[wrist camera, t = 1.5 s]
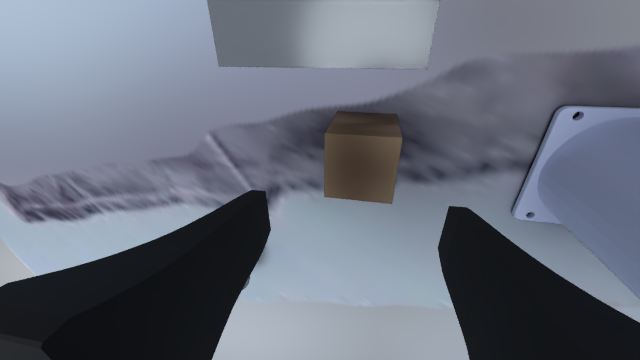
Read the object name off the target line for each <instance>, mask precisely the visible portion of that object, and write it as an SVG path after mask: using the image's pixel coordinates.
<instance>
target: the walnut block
mask: <svg viewBox="0 0 640 360" xmlns="http://www.w3.org/2000/svg"><path fill="white" fill-rule="evenodd" d="M401 145H402V134H401V130H400V126H399V122H398V118H397V114H383V113H361V112H337V113H336V115H335V117H334V118H333V120H332V122H331V124H330V125H329V127H328V129H327V130H326V132H325V183H324V197H331V198H341V199H350V200H360V201H369V202H379V203H388V204H392V201H393V195H394V189H395V182H396V176H397V170H398V164H399V157H400V151H401Z"/></svg>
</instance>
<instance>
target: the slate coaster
mask: <svg viewBox="0 0 640 360" xmlns="http://www.w3.org/2000/svg"><path fill="white" fill-rule="evenodd" d="M207 2H208V8H209V13H210V19H211V25H212V30H213V36H214V42H215V47H216V53H217V59H218V64H219V66H221V67H222V66H223V67H224V66H225V67H290V68H291V67H292V68H361V69H362V68H363V69H364V68H365V69H427V68H428V62H429V57H430V51H431V45H432V40H433V35H434V29H435V24H436V19H437V13H438V7H439V2H440V0H207Z"/></svg>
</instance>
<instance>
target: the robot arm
mask: <svg viewBox="0 0 640 360" xmlns="http://www.w3.org/2000/svg"><path fill="white" fill-rule="evenodd" d="M576 112H579V115H578V116H577V117H576V118H574V119H573V115H574V114H575V113H576ZM529 212H532V213H531V214H529V215H526V214H527V213H529ZM512 214H513V216H514V217H515V218H516V219H519V220H528V221H538V222H547V223H556V224H563V225H564V226H565V227H566V228H567V229H568V230H569V231H570V232H571V233H573V234H574V235H575V236H576V237H577V238H578V239H579V240H580V241H581V242H582V243H583V244H584V245H585V246H586V247H587V248H588V249H589V250H590V251H591V252H592V253H593V254H594V255H595V256H596V257H597V258H598V259H599V260H600V261H601V262H602V263H603V264H604V265H605V266H606V267H607V268H608V269H609V270H610V271H611V272H612V273H613V274H614V275H615V276H616V277H617V278H618V279H619V280H620V281H621V282H622V283H623V284H624V285H625V286H626V287H627V288H628V289H630V290H631V291H632V292H633V293H634V294H635V295H636V296H637V297H638V298H639V299H640V108H625V107H596V106H563V107H561V108H559V109H558V110H557V111H556V113H555V114H554V117H553V119H552V121H551V123H550V126H549V128H548V130H547V133H546V135H545V137H544V139H543V142H542V144H541V146H540V149H539V151H538V153H537V155H536V158H535V160H534V162H533V165H532V167H531V169H530V171H529V174H528V176H527V178H526V181H525V183H524V185H523V187H522V190H521V192H520V194H519V197H518V199H517V201H516V203H515V206H514V208H513V210H512ZM270 231H271V228H270V220H269V213H268V206H267V199H266V192H265V191H257V190H251V191H249V192H247V193H245V194H243V195H241V196H239V197H237V198H235V199H234V200H232V201H230V202H228V203H227V204H225V205H223V206H221V207H220V208H218V209H216V210H214V211H213V212H211V213H209V214H207V215H205V216H203V217H201V218H199V219H198V220H196V221H194V222H192V223H190V224H188V225H186V226H184V227H182V228H180V229H178V230H175V231H173V232H171V233H169V234H167V235H164V236H162V237H160V238H157V239H155V240H152V241H150V242H147V243H145V244H142V245H139V246H136V247H134V248H131V249H128V250H125V251H123V252H120V253H117V254H114V255H111V256H108V257H105V258H102V259H98V260H95V261H92V262H88V263H85V264H82V265H78V266H75V267H71V268H67V269H64V270H60V271H56V272H52V273H48V274H44V275H40V276H36V277H32V278H27V279H23V280H19V281H15V282H11V283H7V284H5V285H3V286H1V287H0V360H212V358H213V355H214V352H215V350H216V347H217V345H218V342H219V339H220V337H221V334H222V332H223V330H224V327H225V325H226V323H227V320H228V318H229V315H230V313H231V310H232V308H233V306H234V304H235V302H236V300H237V298H238V296H239V294H240V293H241V291H242V289H243V287H244V285H245V283H246V282H247V280H248V278H249V276H250V274H251V272H252V271H253V269H254V267H255V265H256V263H257V261H258V259H259V257H260V256H261V254H262V252H263V250H264V247H265V244H266V242H267V239H268V236H269V233H270ZM438 251H439V257H440V263H441V267H442V272H443V276H444V279H445V282H446V285H447V288H448V291H449V294H450V297H451V300H452V303H453V306H454V309H455V312H456V315H457V318H458V321H459V324H460V326H461V330H462V333H463V336H464V339H465V343H466V346H467V350H468V355H469V359H470V360H640V323H639V322H637V321H635V320H634V319H632V318H630V317H628V316H626V315H625V314H623V313H621V312H619V311H617V310H615V309H614V308H612V307H610V306H609V305H607V304H605V303H603V302H602V301H600V300H598V299H596V298H595V297H593V296H591V295H590V294H588V293H587V292H585V291H583V290H582V289H580V288H579V287H577V286H575V285H574V284H572V283H570V282H569V281H567V280H566V279H564V278H563V277H561V276H559V275H558V274H556V273H555V272H553V271H552V270H550V269H549V268H547V267H546V266H545V265H543V264H542V263H540V262H539V261H537V260H536V259H535V258H533V257H532V256H530V255H529V254H528V253H526V252H525V251H523V250H522V249H521V248H519V247H518V246H517V245H515V244H514V243H513V242H511V241H510V240H509V239H507V238H506V237H505V236H504V235H502V234H501V233H500V232H498V231H497V230H496V229H495V228H493V227H492V226H491V225H490V224H488V223H487V222H486V221H484V220H483V219H482V218H481V217H479V216H478V215H477V214H475V213H474V212H473V211H471V210H470V209H468V208H466V207H454V206H449V209H448V212H447V216H446V220H445V223H444V227H443V231H442V235H441V238H440V242H439V246H438Z"/></svg>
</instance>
